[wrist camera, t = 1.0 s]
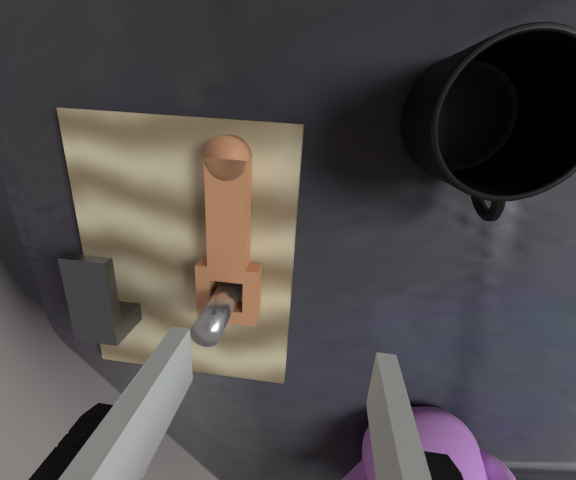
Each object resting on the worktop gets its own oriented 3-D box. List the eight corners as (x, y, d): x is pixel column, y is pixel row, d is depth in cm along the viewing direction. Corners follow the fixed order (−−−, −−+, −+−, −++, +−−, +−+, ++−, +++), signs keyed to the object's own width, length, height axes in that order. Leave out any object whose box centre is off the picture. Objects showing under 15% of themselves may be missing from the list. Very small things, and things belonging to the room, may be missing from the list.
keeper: (92, 240, 33) (57, 258, 29) (133, 244, 33) (104, 263, 28) (105, 314, 36) (75, 340, 32) (142, 318, 36) (117, 346, 32)
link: (259, 315, 34) (256, 326, 32) (204, 308, 34) (197, 319, 32) (266, 137, 27) (261, 138, 25) (197, 132, 28) (188, 133, 26)
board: (66, 107, 30) (56, 107, 29) (303, 124, 28) (302, 124, 27) (108, 351, 40) (102, 358, 39) (284, 375, 38) (283, 383, 37)
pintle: (220, 274, 33) (189, 320, 25) (244, 276, 33) (219, 323, 25) (221, 294, 34) (191, 345, 26) (243, 297, 33) (219, 348, 26)
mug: (407, 213, 30) (438, 251, 21) (393, 70, 26) (425, 48, 17) (520, 194, 28) (602, 228, 20) (524, 38, 24) (629, -4, 16)
